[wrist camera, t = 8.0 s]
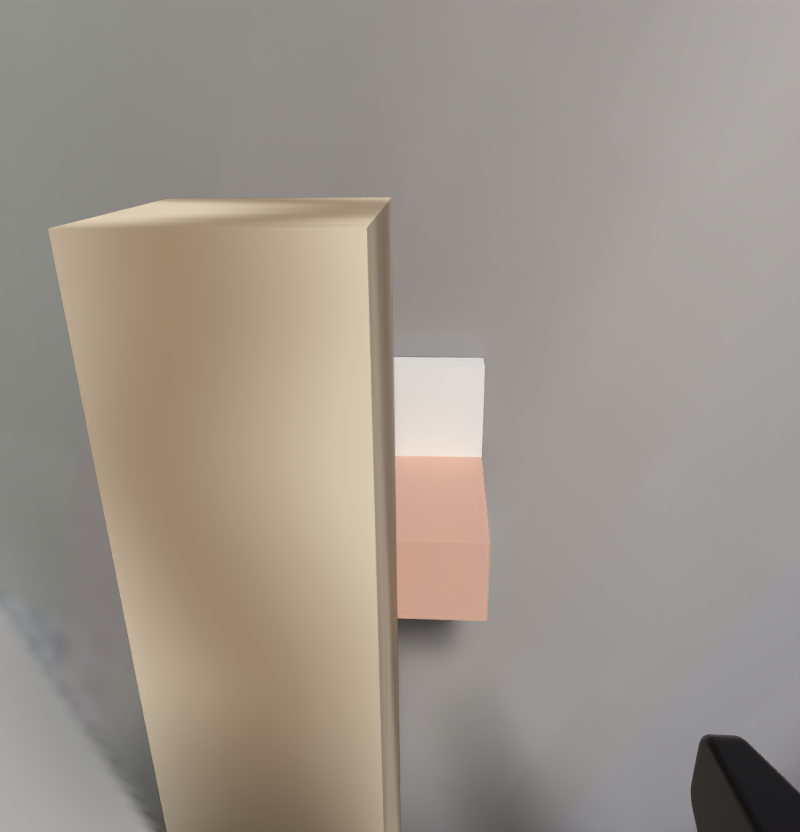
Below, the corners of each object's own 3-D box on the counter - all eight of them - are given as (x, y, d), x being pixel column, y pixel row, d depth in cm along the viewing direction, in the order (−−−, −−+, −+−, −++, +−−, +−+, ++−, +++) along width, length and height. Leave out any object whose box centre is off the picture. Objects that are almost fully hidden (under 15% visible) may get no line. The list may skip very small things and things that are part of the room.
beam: (391, 197, 12) (367, 228, 8) (400, 837, 18) (388, 1017, 15) (167, 198, 12) (48, 228, 9) (250, 829, 19) (200, 1004, 15)
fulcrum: (483, 357, 18) (495, 434, 14) (475, 580, 21) (483, 707, 16) (185, 355, 19) (100, 429, 14) (214, 573, 22) (150, 694, 17)
